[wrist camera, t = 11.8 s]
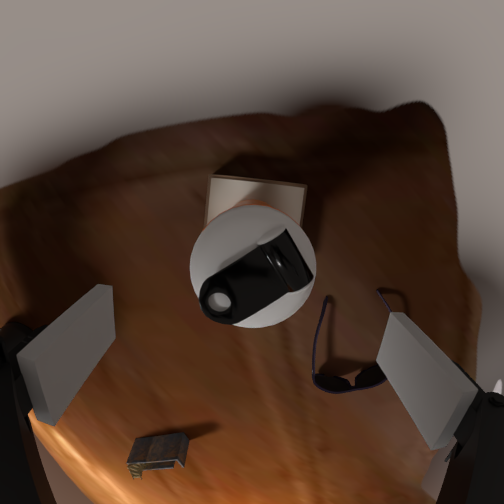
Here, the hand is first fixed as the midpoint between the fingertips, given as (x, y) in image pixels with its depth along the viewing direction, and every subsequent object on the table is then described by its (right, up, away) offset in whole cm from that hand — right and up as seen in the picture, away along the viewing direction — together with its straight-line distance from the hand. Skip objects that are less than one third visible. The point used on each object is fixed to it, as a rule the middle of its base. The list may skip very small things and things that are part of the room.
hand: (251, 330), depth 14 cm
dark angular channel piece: (-18, -34, +40) cm, 55 cm away
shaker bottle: (0, +6, +25) cm, 26 cm away
